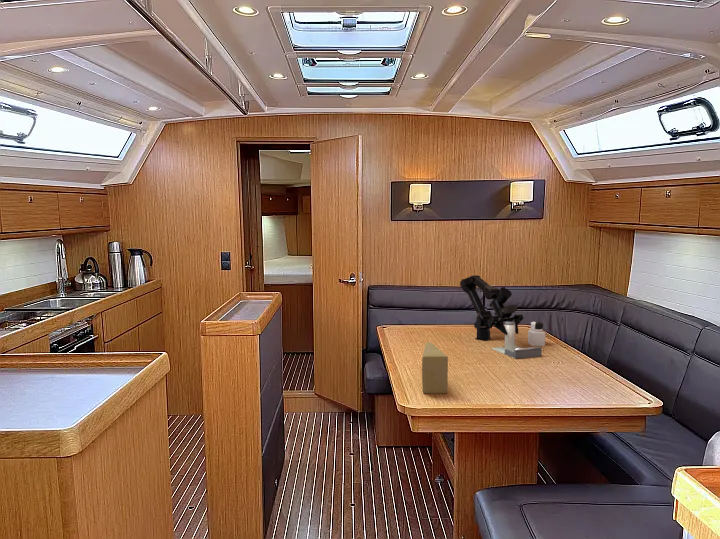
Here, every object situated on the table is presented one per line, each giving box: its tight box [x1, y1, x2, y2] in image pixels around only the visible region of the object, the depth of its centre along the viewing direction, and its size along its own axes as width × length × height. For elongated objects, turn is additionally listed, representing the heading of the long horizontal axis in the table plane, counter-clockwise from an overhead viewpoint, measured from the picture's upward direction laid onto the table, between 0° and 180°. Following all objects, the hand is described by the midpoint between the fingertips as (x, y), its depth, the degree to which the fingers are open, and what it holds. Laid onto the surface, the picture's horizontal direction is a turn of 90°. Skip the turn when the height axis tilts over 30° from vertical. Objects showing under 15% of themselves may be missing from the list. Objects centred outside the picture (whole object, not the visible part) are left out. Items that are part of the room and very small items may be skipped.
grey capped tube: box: [504, 321, 516, 351], centre depth 247 cm, size 5×5×14 cm
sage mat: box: [490, 345, 522, 355], centre depth 248 cm, size 11×15×1 cm
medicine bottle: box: [527, 321, 546, 347], centre depth 259 cm, size 7×7×12 cm
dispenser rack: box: [504, 346, 543, 360], centre depth 238 cm, size 8×15×5 cm, turn 109°
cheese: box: [421, 341, 449, 395], centre depth 195 cm, size 22×10×15 cm, turn 179°
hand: (512, 334), depth 245 cm, fingers open, 6 cm apart
